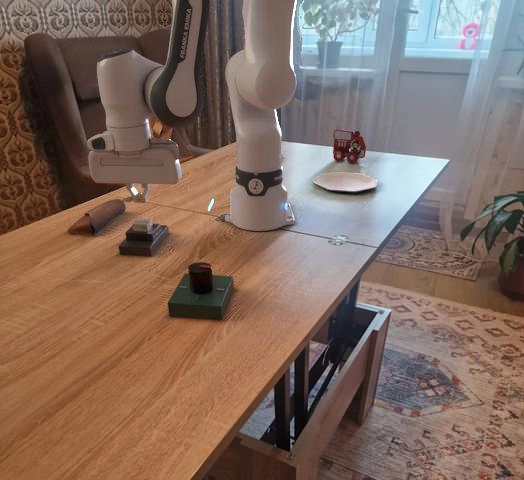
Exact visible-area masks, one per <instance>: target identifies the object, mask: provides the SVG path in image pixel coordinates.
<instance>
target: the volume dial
mask: <svg viewBox="0 0 524 480" xmlns="http://www.w3.org/2000/svg"><path fill="white" fill-rule="evenodd" d="M187 270H188V271H187V272H188V274H189V282H190V290H191V291H192V292H193V293H196V294H205V293H209V292H211V291H212V290H213V276H212V275H213V266H212V264H211V263H208V262H204V261H198V262H193V263H191V264H189V265H188V266H187Z"/></svg>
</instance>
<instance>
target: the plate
mask: <svg viewBox="0 0 524 480" xmlns="http://www.w3.org/2000/svg"><path fill="white" fill-rule="evenodd" d="M378 182H379V179H377V178H375V177H372V176H370V175H368V174H366V173H365V174H364V173H361V172H349V171H333V172H328V173H322V174H321V173H320V174H318V175H316V177H315V179H314V180H313V185H315V186H318V187H320V188H322V189H324V190H326V191H329V192H340V193H341V192H342V193H352V194H353V193H360V192H365V191H370V190H375V189H376V188H377V186H378Z"/></svg>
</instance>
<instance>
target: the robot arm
mask: <svg viewBox="0 0 524 480" xmlns="http://www.w3.org/2000/svg"><path fill="white" fill-rule="evenodd" d="M211 1H212V0H171V5H172V20H171V29H170V36H169V43H168V44H169V45H168V50H167V57H166V62H165V65H164V64H161V63H158V62H156V61H153V60H151V59H149V58H147V57H144V56H142V55H141V54H140V53H138V52H136V51H135V50H134V49H133V48H130V47H125V48H123V47H122V48H117V49H113V50H110V51H107V52H106V53H103V54H101V55H100V57H99V58H98V60H97V63H96V77H97V84H98V90H99V91H98V92H99V96H100V101H101V104H102V107H103V109H104V112H105V126H106V130H103V131H101V132H99V133H97V134H95V135H93V136H91V137H90V138H88V140H87V141H86V145H87V149H88V150H90V151H89V153H88V155H87V156H88V158H87V159H88V167H89V168H88V169H89V173H90V177H91V179H92V180H93V182H94V183H96V184H125V186H126V187H125V188H126V190H127V191H128V192H129V194H130V195H131V196H132V199H133V203H134V204H147V203H148V202H149V195H148V193H149V191H150V189H151V186H152V185H177V184H178V183H179V182H180V181H181V179H182V177H183V173H182V167H181V162H180V159H179V158H180V151H179V150H180V149H179V145H178V144H177V143H176V142H175V141H174V140H172V139H170V138H154V137H152V135H151V128H150V121H149V119H150V117H155V116H156V117H157V118H158V119H159V121H160V122H161V123H163V124H164V125H165V126H167V127H169V128H171V129H184V128H187V127H189V126H191V125H193V124H194V123H195V122H196V121H197V120H198V118H199V117H200V115H201V113H202V111H203V106H204V93H203V87H202V80H201V70H202V61H203V55H204V50H205V42H206V36H207V35H206V34H207V29H208V21H209V15H210V5H211ZM296 5H297V0H243V2H242V10H241V13H242V20H243V27H244V49H241V50H240V51H238V52H236V53H234V54H233V55H232V56H231V57H230V58H229V60H228V61H227V63H226V67H225V71H224V73H225V74H224V76H225V77H224V78H225V82H226V84H227V88H228V94H229V100H230V107H231V113H232V119H233V123H234V131H235V146H236V149H235V150H236V166H235V172H234V176H235V182H236V183H235V185H234V186H233V187H232V188H231V189H230V191H229V193H230V195H229V196H230V199H229V201H230V204H229V207H230V208H229V209H230V211H229V212H228V213H227V214H226V215H224V221H225V222H228V223H230V224H232V225H234V226H235V227H237V228H239V229H241V230H246V231H253V232H266V231H273V230H277V229H280V228H283V227H285V226H291V225H294V224H295V223H296V220H295V216H294V213H293V209H292V207H291V204H290V202H289V201H288V191H287V189H286V187H285V186H284V184H283V180H284V178H283V177H284V170H283V166H282V157H283V154H282V139H283V135H282V129H281V127H280V125H279V121H278V115H277V110H278V109H281V108H284V107H285V106H286V105H288V104H289V103H290V101H291V100H292V98H293V97H294V95H295V94H296V93H295V92H296V89H297V75H296V72H295V69H294V64H293V61H294V60H293V54H294V53H293V51H294V50H293V48H294V47H293V41H294V40H293V37H294V36H293V34H294V33H293V31H294V19H295V12H296ZM136 184H137V185H139V184H140V185H141V189H143V192H138V190H137V189H136V188H135V186H136ZM214 200H215V199H214V198H212V199H211V201H210V203H209V205H208V207H207V211H208V212H211V211H210V210H211V209H212V207H213V204H214V202H215V201H214Z"/></svg>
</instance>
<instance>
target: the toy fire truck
mask: <svg viewBox="0 0 524 480" xmlns="http://www.w3.org/2000/svg"><path fill="white" fill-rule="evenodd" d="M332 136H333V148H332V155H333V156H332V157H333V160H334V161H335V162H338V163H340V162H343V161H344V159H346V160H347V162H348V163H349V164H355V163H357V161H358V160H359V159H365V157H366V152H367V146H366V143H365V140H364V137H363V136H362V135H361V132H360V131H359V130H355V131H353V130H346V129H345V130H344V129H335V130H333V134H332Z"/></svg>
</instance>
